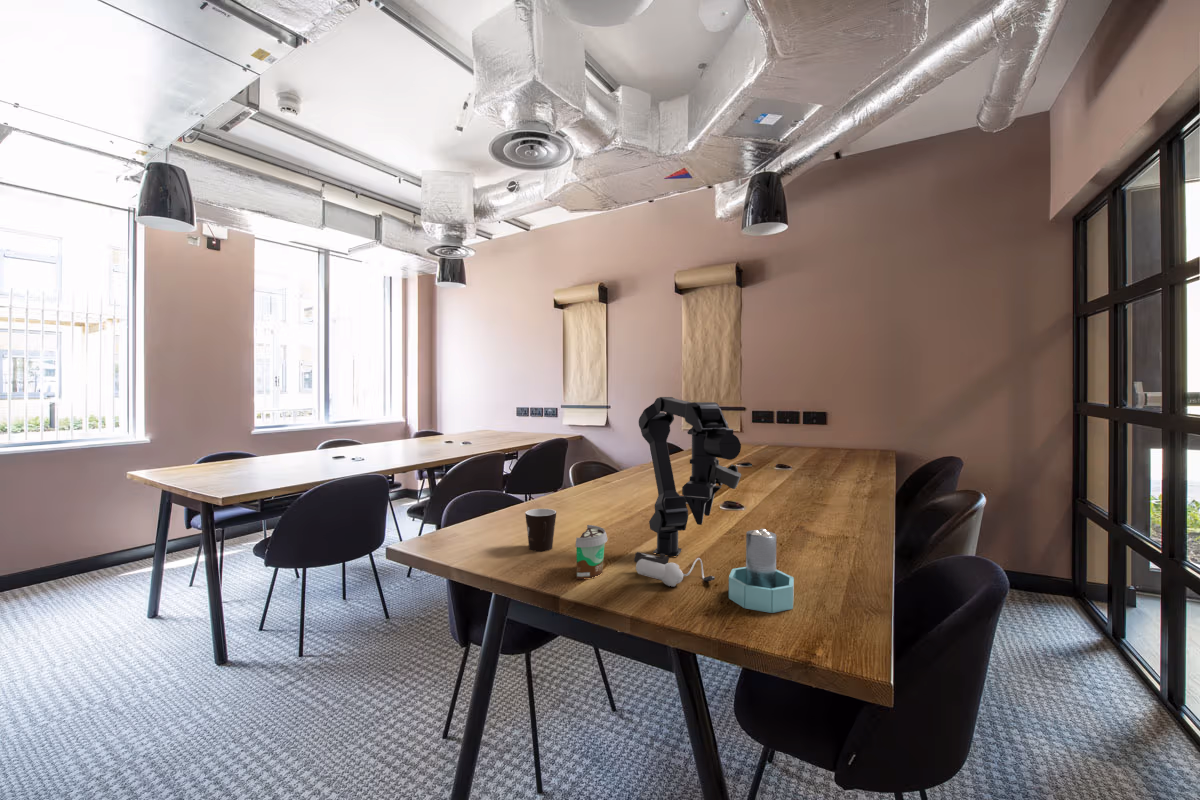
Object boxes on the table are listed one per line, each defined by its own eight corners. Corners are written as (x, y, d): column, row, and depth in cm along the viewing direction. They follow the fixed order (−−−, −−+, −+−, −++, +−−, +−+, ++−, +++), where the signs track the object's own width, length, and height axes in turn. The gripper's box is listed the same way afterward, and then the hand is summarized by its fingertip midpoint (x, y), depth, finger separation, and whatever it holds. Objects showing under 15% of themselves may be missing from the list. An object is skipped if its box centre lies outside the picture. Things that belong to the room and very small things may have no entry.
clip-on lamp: (704, 584, 118) (632, 566, 119) (710, 558, 118) (638, 540, 119) (713, 600, 106) (632, 579, 107) (719, 571, 106) (639, 550, 108)
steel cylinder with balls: (742, 587, 106) (743, 526, 105) (770, 588, 105) (771, 526, 105) (750, 599, 100) (750, 534, 99) (779, 599, 99) (780, 534, 99)
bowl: (734, 583, 111) (734, 563, 111) (794, 592, 106) (794, 571, 106) (725, 605, 99) (725, 583, 99) (792, 616, 94) (792, 593, 94)
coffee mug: (530, 542, 140) (530, 508, 140) (559, 544, 139) (559, 509, 139) (517, 555, 129) (517, 518, 129) (549, 557, 128) (549, 519, 127)
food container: (601, 584, 110) (602, 540, 110) (575, 581, 111) (575, 538, 111) (611, 565, 122) (611, 525, 122) (587, 563, 123) (587, 524, 123)
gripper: (732, 461, 104) (732, 534, 104) (743, 452, 121) (743, 514, 121) (681, 458, 109) (681, 528, 109) (699, 450, 126) (698, 510, 126)
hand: (703, 519), depth 116 cm, fingers open, 9 cm apart
